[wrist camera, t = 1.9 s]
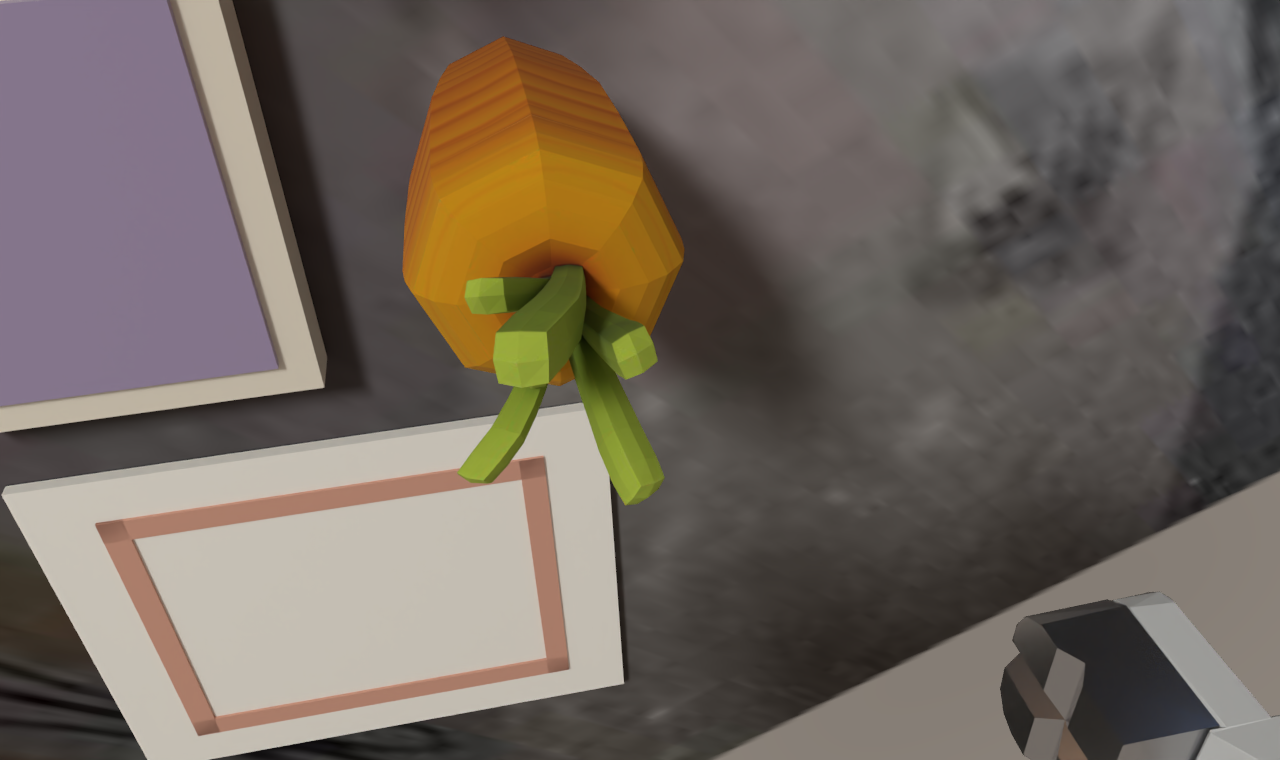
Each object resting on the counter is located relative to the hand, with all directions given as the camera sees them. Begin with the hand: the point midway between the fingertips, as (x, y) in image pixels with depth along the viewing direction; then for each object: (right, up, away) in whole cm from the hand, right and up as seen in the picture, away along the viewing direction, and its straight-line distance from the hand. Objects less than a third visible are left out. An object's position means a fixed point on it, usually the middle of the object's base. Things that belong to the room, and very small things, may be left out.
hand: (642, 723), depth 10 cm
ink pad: (-14, +8, +15) cm, 22 cm away
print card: (-10, -4, +25) cm, 27 cm away
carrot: (-4, +12, +16) cm, 20 cm away
